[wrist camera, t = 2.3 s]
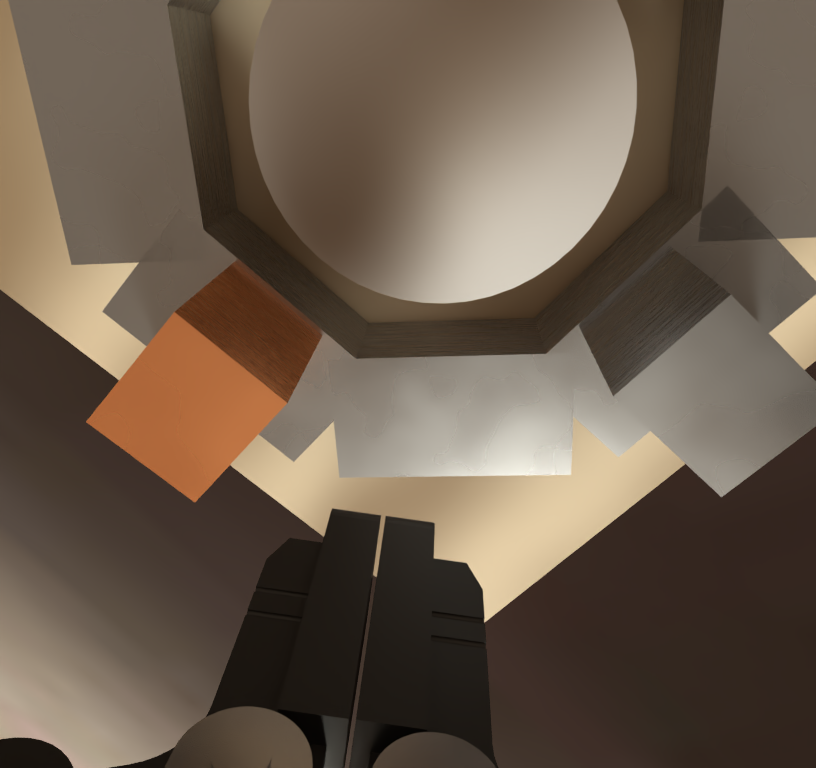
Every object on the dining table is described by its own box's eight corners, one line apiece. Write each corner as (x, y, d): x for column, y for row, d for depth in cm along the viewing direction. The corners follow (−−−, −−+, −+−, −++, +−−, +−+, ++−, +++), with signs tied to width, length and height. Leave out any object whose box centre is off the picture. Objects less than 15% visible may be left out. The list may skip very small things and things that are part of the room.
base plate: (1127, 66, 16) (1561, 60, 10) (460, 608, 24) (461, 806, 17) (416, -940, 11) (364, -2227, 5) (-149, 134, 19) (-464, 163, 12)
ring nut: (984, 77, 15) (1288, 77, 10) (457, 532, 20) (457, 702, 15) (422, -651, 11) (391, -1321, 6) (-39, 131, 17) (-280, 157, 11)
